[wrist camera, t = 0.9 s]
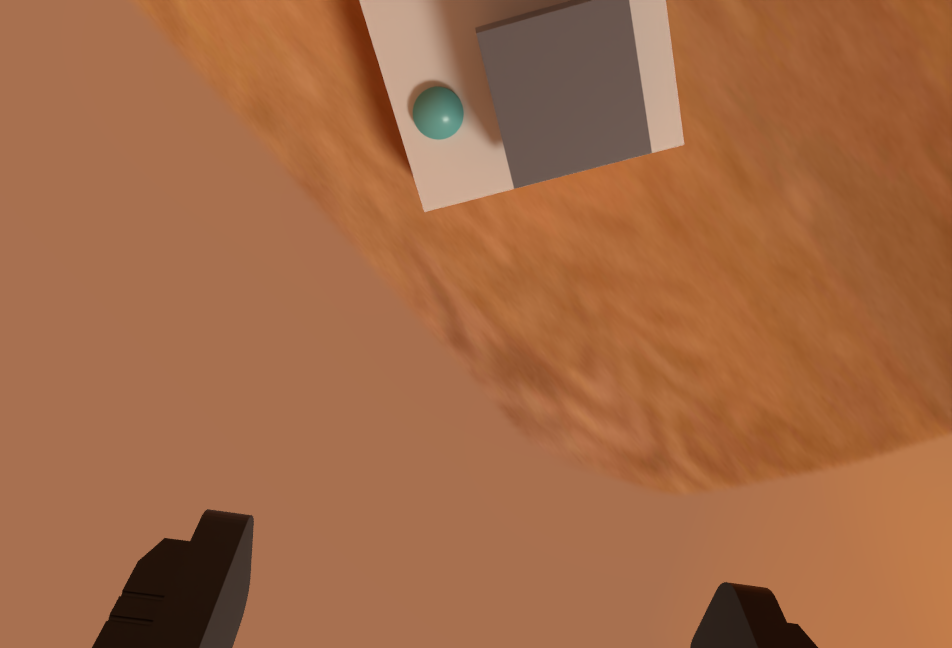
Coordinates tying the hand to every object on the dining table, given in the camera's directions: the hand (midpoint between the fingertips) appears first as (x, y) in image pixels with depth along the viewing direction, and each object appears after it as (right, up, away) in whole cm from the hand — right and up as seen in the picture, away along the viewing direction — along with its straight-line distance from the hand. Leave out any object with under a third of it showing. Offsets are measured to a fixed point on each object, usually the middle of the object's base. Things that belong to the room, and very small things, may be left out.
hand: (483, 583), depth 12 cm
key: (+3, +13, +15) cm, 20 cm away
